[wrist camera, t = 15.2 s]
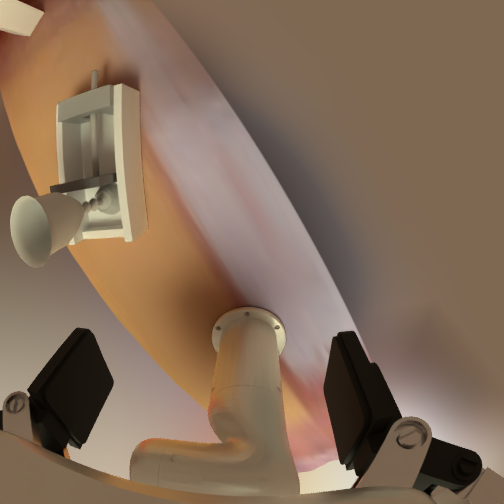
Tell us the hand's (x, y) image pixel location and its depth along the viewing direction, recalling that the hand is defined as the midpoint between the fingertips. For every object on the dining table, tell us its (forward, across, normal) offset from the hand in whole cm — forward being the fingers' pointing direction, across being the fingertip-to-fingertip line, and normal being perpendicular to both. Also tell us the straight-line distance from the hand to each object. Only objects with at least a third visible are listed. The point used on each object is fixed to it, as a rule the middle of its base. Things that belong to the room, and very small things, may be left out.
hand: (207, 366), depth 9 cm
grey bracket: (+30, +20, -8) cm, 37 cm away
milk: (+31, +43, -45) cm, 69 cm away
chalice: (+30, +20, -3) cm, 36 cm away
